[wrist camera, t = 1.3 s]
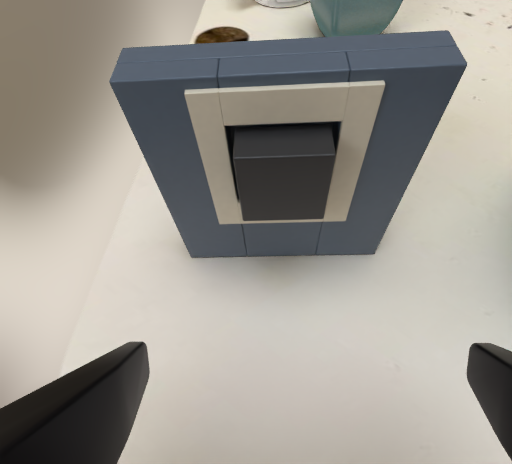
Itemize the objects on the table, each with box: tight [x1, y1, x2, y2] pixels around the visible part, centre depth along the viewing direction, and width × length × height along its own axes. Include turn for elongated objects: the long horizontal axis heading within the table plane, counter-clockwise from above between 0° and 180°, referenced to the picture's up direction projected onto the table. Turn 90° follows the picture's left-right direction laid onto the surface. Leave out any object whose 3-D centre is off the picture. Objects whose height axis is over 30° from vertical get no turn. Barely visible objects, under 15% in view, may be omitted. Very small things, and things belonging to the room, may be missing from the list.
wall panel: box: [110, 31, 467, 257], centre depth 20 cm, size 3×14×15 cm, turn 89°
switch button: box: [233, 124, 336, 221], centre depth 17 cm, size 2×4×5 cm, turn 90°
